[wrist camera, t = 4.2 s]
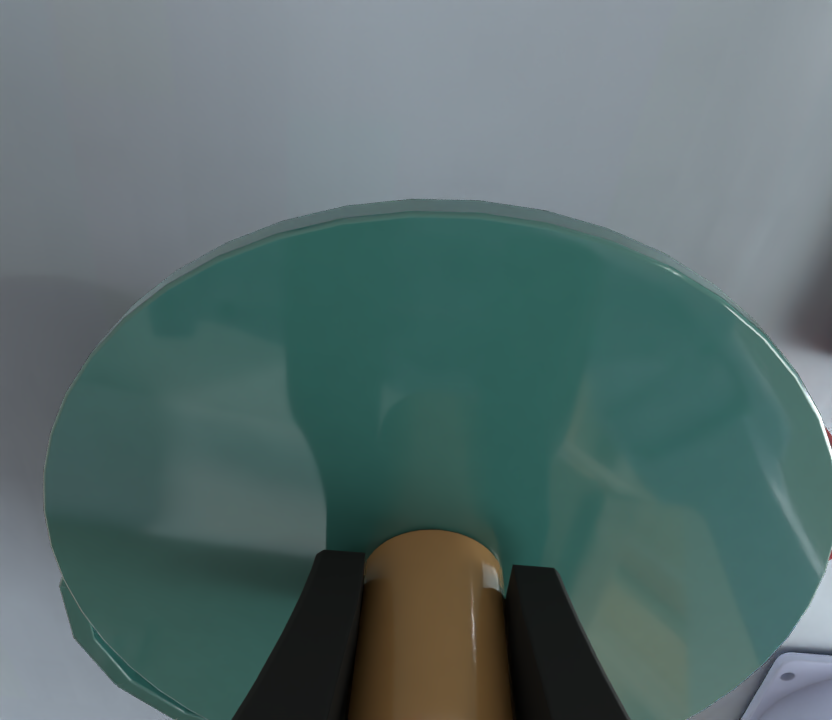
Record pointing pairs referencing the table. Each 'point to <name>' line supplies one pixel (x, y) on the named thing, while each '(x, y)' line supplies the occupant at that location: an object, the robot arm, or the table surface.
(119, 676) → the candle pot
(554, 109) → the table surface
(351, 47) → the table surface
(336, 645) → the robot arm
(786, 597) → the pot lid
